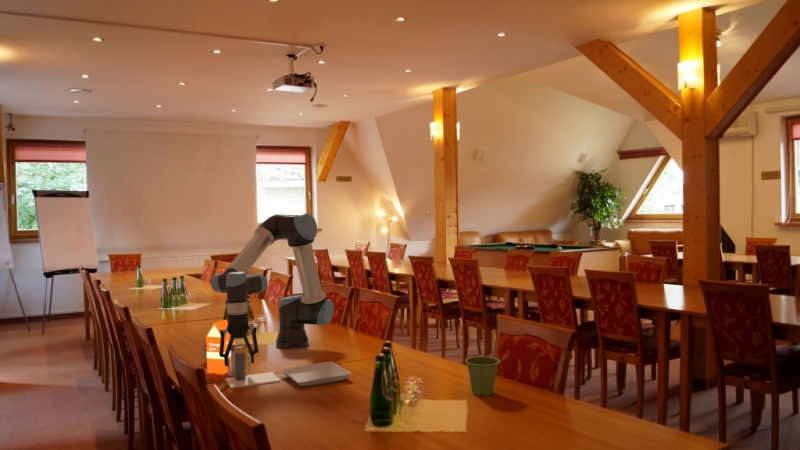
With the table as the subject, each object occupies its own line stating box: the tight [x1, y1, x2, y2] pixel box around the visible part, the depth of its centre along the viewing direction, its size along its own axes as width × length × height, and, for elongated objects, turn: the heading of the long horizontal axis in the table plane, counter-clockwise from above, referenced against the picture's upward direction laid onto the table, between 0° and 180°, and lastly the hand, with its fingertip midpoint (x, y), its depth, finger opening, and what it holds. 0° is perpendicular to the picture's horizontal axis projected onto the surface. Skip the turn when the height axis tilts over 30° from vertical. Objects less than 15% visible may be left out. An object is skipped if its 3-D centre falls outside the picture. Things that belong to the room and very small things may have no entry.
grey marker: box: [230, 343, 242, 377], centre depth 243 cm, size 4×4×12 cm
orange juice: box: [205, 319, 236, 375], centre depth 251 cm, size 8×9×20 cm
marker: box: [234, 345, 247, 381], centre depth 235 cm, size 4×4×12 cm
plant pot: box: [464, 355, 501, 397], centre depth 213 cm, size 12×12×11 cm
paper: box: [224, 371, 281, 390], centre depth 235 cm, size 18×13×1 cm
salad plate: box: [280, 360, 352, 387], centre depth 236 cm, size 21×21×3 cm
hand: (239, 373), depth 237 cm, fingers open, 7 cm apart
